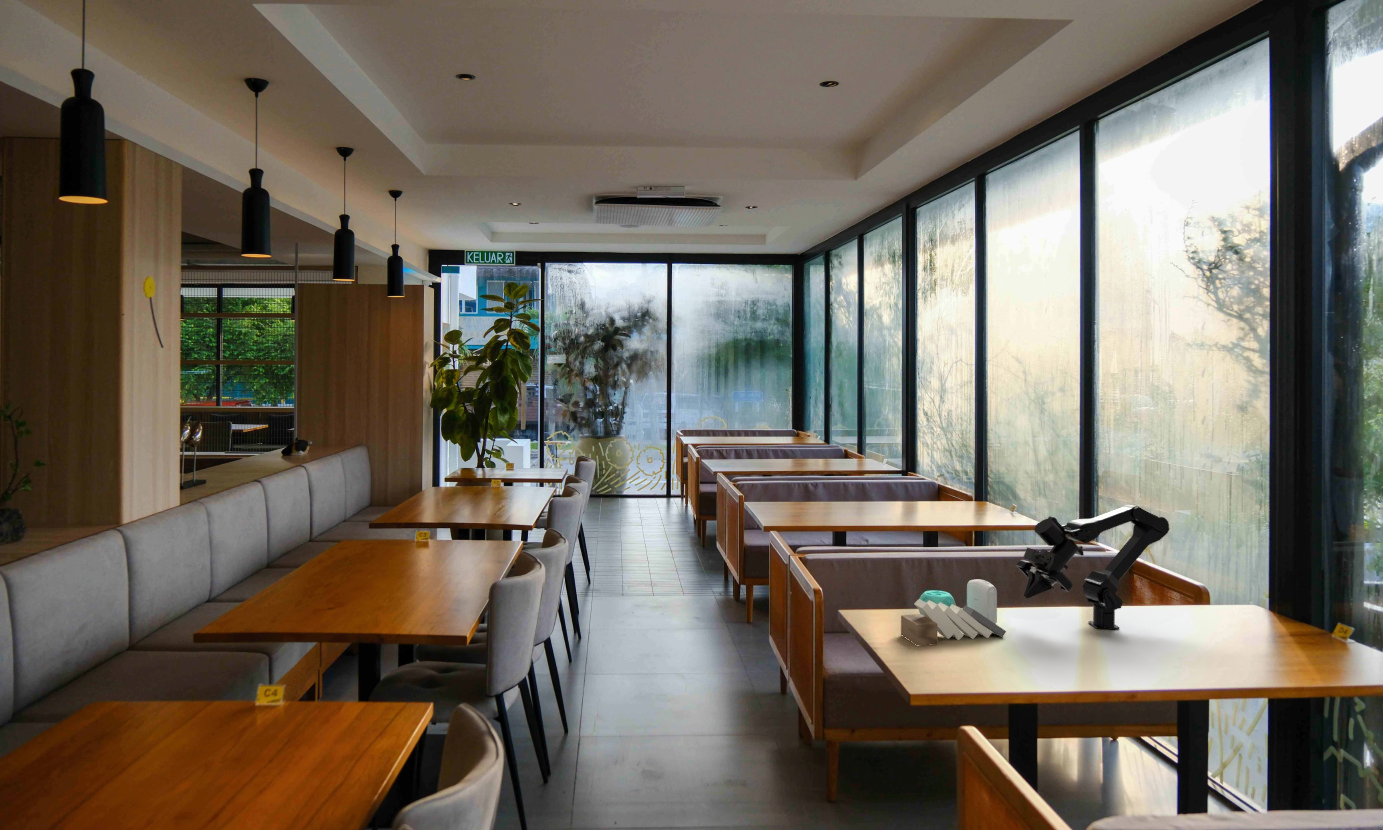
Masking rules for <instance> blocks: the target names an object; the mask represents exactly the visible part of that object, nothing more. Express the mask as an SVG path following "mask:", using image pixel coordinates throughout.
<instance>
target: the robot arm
mask: <svg viewBox="0 0 1383 830" xmlns="http://www.w3.org/2000/svg"><path fill="white" fill-rule="evenodd" d="M1126 523H1131V524H1132V525H1133V528H1132V535H1131V537H1130V538H1129V539H1128V541H1126V543H1125V544H1124V545H1123V546H1122V548H1121V549H1120V550H1119V551H1118V552H1117V554H1116V555H1115V556H1114V557H1113V559H1111V561H1110V562H1109V563H1108V564H1107V565H1106V567H1105V568H1104V569H1103V570H1101V571H1096V570H1092V571H1091V572H1090V574H1089V575H1088V577H1086V578H1085V579H1084V580H1083V581H1085V582H1084V583H1083V585H1082V592H1083V595H1084V596H1085V598H1086V602H1087V603H1088V604H1092V620H1089V621H1088V624H1089V625H1091V626H1092V627H1094V628H1096V629H1098V630H1099V629H1100V630H1105V629H1106V630H1120V628H1121V627H1119V626H1118V625H1117V624H1115V623H1116V619H1115V618H1116V614H1115V613H1116V611H1117V610H1118V609H1119V610H1121V609H1122V605H1123V603H1124V601H1123V599H1121V598H1120V597H1119V595H1117V593H1118V591H1119V583H1120V580H1121V579H1122V578H1123V577H1124V575H1126V573H1127V572H1128V571H1129V569H1131V567H1132V566H1133V564H1135V562H1136V561H1137V560H1138V558H1140V556H1142V554H1143V552H1145V550H1146V549H1147V548H1148V547H1149V546H1150V545H1152V544H1154V543H1158V542H1159V541H1161V539H1163V538H1164V537H1165V536H1167V534H1168V533H1169V531H1170V524H1169V521H1168V519H1167V518H1166V517H1163V516H1160V515H1156V514H1154V513H1151V512H1149V511H1147V510H1145V509H1143V508H1141V507H1140V506H1138V505H1134V504H1133V505H1132V504H1124V505H1123V506H1121V507H1119V508H1117V509H1114V510H1110V511H1109V512H1108V511H1107V512H1105V513H1103V514H1100V515H1098V516H1095V517H1092V518H1079V519H1073V520H1070V521H1068V522H1067V523H1066V524H1062V525H1061V523H1060V522H1059V521H1058V519H1057V518H1056V517H1055V516H1052V515H1051V516H1050V515H1049V516H1048V517H1047V518H1045V519H1042V520H1041V521H1039V522H1037V523H1036V524H1035V527H1034V532H1035V534H1036V535H1037V536H1038V537H1039V538H1040V539H1041V540H1042V541H1043V542H1044V543H1045V545H1047V546H1049V547H1051V549H1050V550H1046V549H1041V550H1037V549H1034V548H1031V547H1026V549H1025V551H1024V554H1023V558H1024V559H1020V560H1018V562H1017V563H1016V564H1015V566H1016V567H1017V568H1018V569H1019V571H1021V573H1022V574H1024V576H1025V577H1027V578H1028V581H1027V585H1026V588H1025V590H1024V594H1023V597H1024V598H1025V599H1030V598H1032V597H1035V596H1037V595H1039V594H1042V593H1045V592H1047V591H1049V590H1055V587H1054V585H1055V584H1059V585H1060V589H1061V591H1063V592H1067V593H1069V592H1070V591H1071V589H1072V588H1073V582H1072V580H1070V579H1069V578H1068V576H1066V575H1065V573H1064V572H1063V570H1065V571H1067V570H1068V569H1069V566H1068V565H1067V564H1068V563H1070V561H1071V559H1072V558H1073V557H1074V556H1075V555H1078V556H1082V557H1083V556H1084V549H1083V547H1084V546H1082V545H1079V544H1077V542H1078V543H1079V542H1080V543H1082V544H1083V543H1084V544H1089V543H1090V542H1093V541H1094V540H1096V539H1097V538H1099V536H1100V535H1101V534H1102V533H1103V532H1105V531H1108V530H1111V529H1114V528H1116V527H1119V526H1121V525H1125V524H1126ZM1025 559H1026V560H1025ZM1028 560H1030V561H1028ZM1031 561H1032V562H1033V563H1032V562H1031Z"/></svg>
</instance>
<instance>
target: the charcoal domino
mask: <svg viewBox="0 0 1383 830" xmlns="http://www.w3.org/2000/svg"><path fill="white" fill-rule="evenodd" d="M961 609H962V610H964V611H965V612H966V613H967V614H969V615H970V616H971V617H973V618H974V619H975V620H976V621H978V622H979V623H980V624H982V625H983V626H984V627H985V628H987V629H988V630H989V631H990V632H992V633H994V634H996V635H998V636H999V637H1000V638H1004V636H1005V635H1006V633H1007V630H1005V629H1003V628H1002V627H1001V626H999V625H998V624H997V623H996V624H995V623H993V622H992V621H990V620H989V619H987V618H986V617H984V616H983V615H981V614H980V613H978V612H977V611H975V610H974V609H972V608H970V607H968V606H967V604H965V605H964V606H963V608H961Z"/></svg>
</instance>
